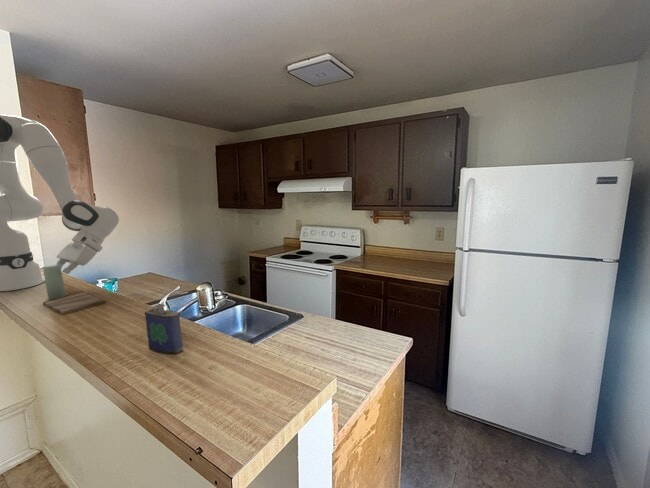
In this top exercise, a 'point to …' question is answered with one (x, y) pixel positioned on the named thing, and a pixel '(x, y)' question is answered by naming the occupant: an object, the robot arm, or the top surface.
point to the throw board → (73, 303)
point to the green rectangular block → (54, 281)
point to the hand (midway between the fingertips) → (60, 271)
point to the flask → (163, 330)
